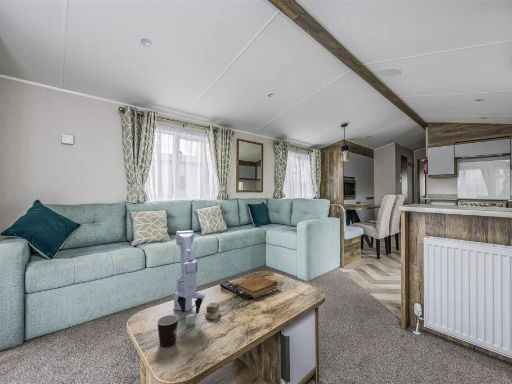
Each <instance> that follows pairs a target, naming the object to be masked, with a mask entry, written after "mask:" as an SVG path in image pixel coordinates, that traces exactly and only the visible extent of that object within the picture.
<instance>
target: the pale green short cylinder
mask: <svg viewBox="0 0 512 384" xmlns="http://www.w3.org/2000/svg"><path fill="white" fill-rule="evenodd" d="M195 325H196V313H195V314H194V313H188V314H187V315H186V316H185V326H186V327H193V326H195Z"/></svg>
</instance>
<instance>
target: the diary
mask: <svg viewBox="0 0 512 384" xmlns="http://www.w3.org/2000/svg"><path fill="white" fill-rule="evenodd" d="M278 284H279V281H276V280H273V279H271V278H267V277H264V276H261V275H259V276H256V277H253V278H249V279H246V280H243V281H241V282H238V283H235V284H234V289H235V288H238V289H240V290H242V291H244V292H246V293H248V294H250V295H252V296H253V299H254V300H256V299H258V298H257V297H259V298H261V297H263V296H262V295H263V294H265V293H268V292H270V291H272V290H274V289H276V288H277V289H278ZM260 296H261V297H260ZM255 298H256V299H255ZM253 299H252V300H253Z"/></svg>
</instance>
